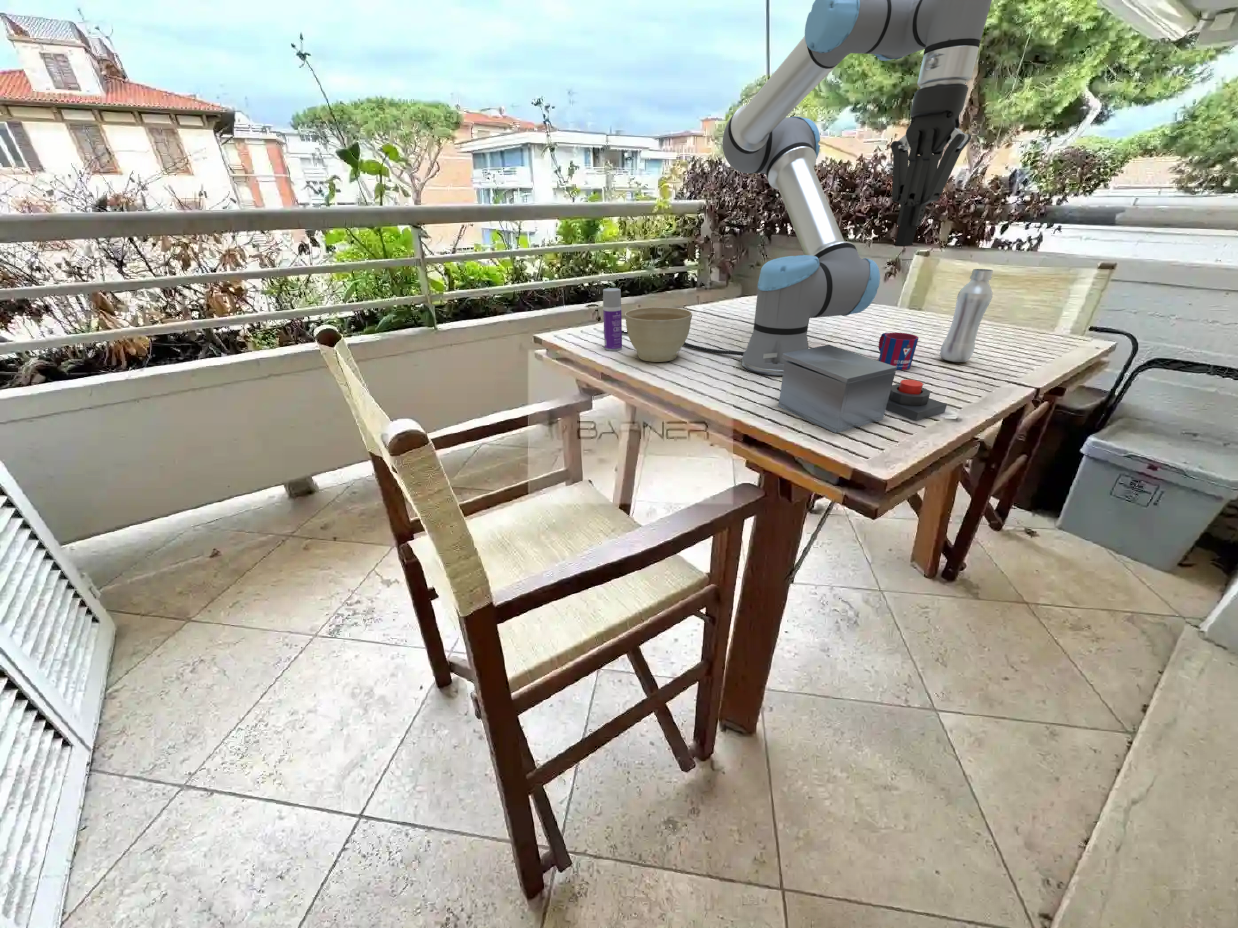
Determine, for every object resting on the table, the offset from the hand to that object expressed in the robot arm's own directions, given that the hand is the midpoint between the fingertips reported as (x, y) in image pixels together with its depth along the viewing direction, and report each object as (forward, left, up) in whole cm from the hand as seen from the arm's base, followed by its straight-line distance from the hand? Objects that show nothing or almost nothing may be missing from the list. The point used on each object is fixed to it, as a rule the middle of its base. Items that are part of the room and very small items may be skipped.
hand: (903, 245), depth 90 cm
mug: (-6, +14, -27) cm, 31 cm away
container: (-51, -36, -27) cm, 68 cm away
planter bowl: (-38, -30, -27) cm, 55 cm away
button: (+13, -7, -23) cm, 28 cm away
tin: (+8, -21, -26) cm, 35 cm away
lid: (+8, -21, -17) cm, 28 cm away
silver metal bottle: (0, +28, -27) cm, 39 cm away
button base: (+13, -7, -26) cm, 30 cm away
